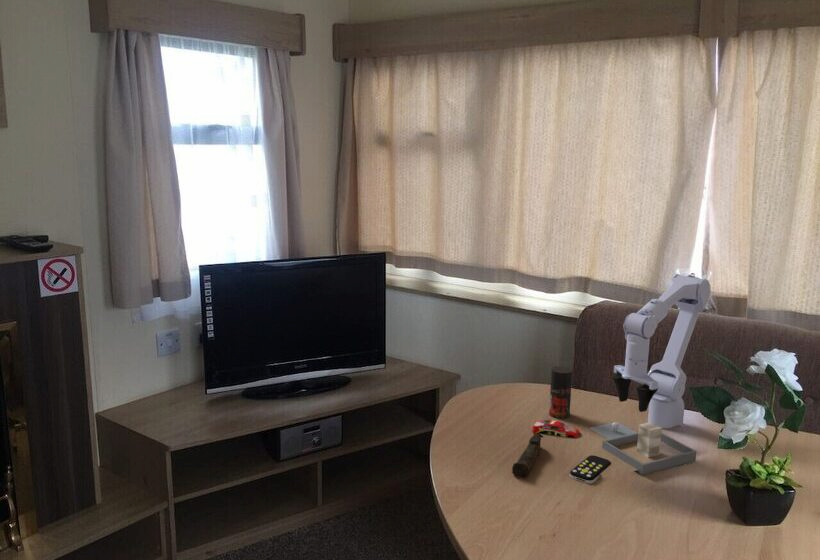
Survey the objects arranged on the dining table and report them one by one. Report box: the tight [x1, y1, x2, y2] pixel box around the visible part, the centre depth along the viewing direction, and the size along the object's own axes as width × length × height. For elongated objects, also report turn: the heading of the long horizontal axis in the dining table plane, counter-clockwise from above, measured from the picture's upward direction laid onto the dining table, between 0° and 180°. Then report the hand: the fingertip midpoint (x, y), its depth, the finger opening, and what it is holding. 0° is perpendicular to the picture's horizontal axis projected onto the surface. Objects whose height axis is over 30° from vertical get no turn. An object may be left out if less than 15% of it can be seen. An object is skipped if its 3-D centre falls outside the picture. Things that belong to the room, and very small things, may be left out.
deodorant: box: [548, 365, 573, 420], centre depth 214 cm, size 6×6×15 cm
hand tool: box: [511, 433, 542, 479], centre depth 188 cm, size 19×4×5 cm, turn 154°
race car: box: [531, 419, 582, 439], centre depth 204 cm, size 13×5×4 cm, turn 71°
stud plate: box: [589, 421, 637, 440], centre depth 204 cm, size 10×10×4 cm
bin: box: [601, 432, 697, 477], centre depth 191 cm, size 18×15×3 cm
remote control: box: [569, 454, 612, 484], centre depth 183 cm, size 6×13×2 cm, turn 141°
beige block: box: [636, 422, 663, 458], centre depth 190 cm, size 4×4×8 cm
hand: (632, 405), depth 198 cm, fingers open, 7 cm apart
